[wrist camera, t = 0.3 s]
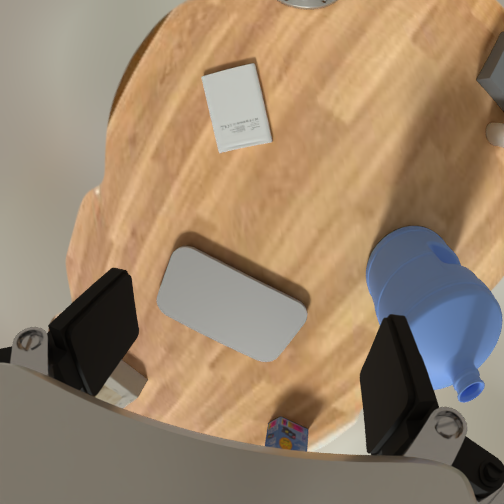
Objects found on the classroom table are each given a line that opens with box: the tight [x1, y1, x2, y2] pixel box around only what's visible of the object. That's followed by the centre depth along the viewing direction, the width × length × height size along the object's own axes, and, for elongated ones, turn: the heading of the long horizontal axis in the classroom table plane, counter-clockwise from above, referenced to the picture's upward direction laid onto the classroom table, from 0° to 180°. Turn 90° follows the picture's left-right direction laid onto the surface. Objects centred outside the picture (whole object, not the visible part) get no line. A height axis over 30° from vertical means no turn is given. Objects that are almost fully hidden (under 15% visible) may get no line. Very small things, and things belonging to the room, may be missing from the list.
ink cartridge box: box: [265, 417, 308, 452], centre depth 62 cm, size 10×6×14 cm, turn 56°
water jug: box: [366, 226, 502, 402], centre depth 34 cm, size 16×16×28 cm
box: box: [93, 360, 148, 408], centre depth 72 cm, size 23×8×32 cm
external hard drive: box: [202, 63, 272, 153], centre depth 41 cm, size 2×8×12 cm
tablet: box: [157, 246, 307, 362], centre depth 54 cm, size 16×26×2 cm, turn 65°
